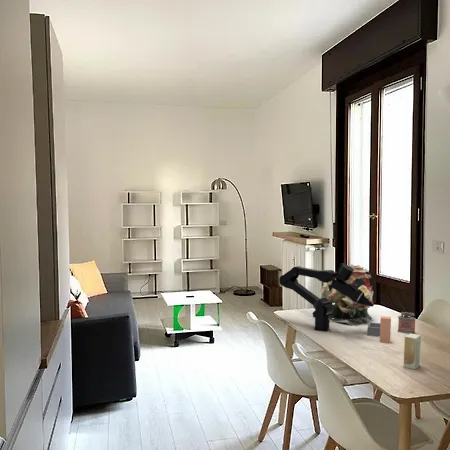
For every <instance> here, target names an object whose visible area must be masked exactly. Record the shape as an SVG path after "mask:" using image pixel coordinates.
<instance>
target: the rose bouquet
mask: <svg viewBox="0 0 450 450" xmlns="http://www.w3.org/2000/svg"><path fill="white" fill-rule="evenodd" d="M348 266H351V267H352V268H353V269H354V271H353V273H352V275H351V276H350V278H349V280H346V281H345V282H347V283H348V284H351V285H352V284H354V283H355V280H356V279H357V278H358V279H360V278H361V277H362V279H363V280H364V281H365V282H366V283H365V284H364V285H362V286H360V287H359V288H358V289H360V290H361V291H362V292H364V295H365V297H366V298H367V299H368V300H369V301H370V302H371V303H373V304H374V302H373V295H374V293H375V292H374V290H373V287H374V285H371V284H370V279H372V275H371V274H367V270H368V269H367V268H364V266H361V265H360V264H357V265H355V264H351V263H350V264H349V265H348ZM335 280H336V279H335ZM331 283H332V282H327V283H325V285H323V286H322V287H321V288H320V293H321V295H322V297H321V298H327V299H328V300H329V301H331V303H332V304H333V307H334V311H333V312H332V313H331V316H329V319H328V320H331V321H332V322H334V323H346V324H347V325H349V326H352V327H353V326H360V325H362V324H368V322H373V321H374V319H372V318H373V317H372V316H371V315H370V313H369V312H368V310H369V308H370V307H372V306H367V305H363V304H358V303H357V302H356V303H355V302H353V301H352V299H350V298H348V297H347V296H345V295H343V294H342V293H340V292H339V291H337V290H335V289H334V288H333V289H332V290H331V291H329V287H328V285H329V284H331ZM374 305H375V304H374ZM332 318H338V319H332ZM341 318H342V319H343V320H342V319H341Z"/></svg>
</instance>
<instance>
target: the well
mask: <svg viewBox="0 0 450 450" xmlns="http://www.w3.org/2000/svg"><path fill="white" fill-rule="evenodd" d="M367 322H368V323H367V329H366V330H367V334H366V336H370V337H379V338H380V322H372V321H367Z"/></svg>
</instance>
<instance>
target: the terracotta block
mask: <svg viewBox="0 0 450 450" xmlns="http://www.w3.org/2000/svg"><path fill="white" fill-rule="evenodd" d="M391 322H392V317H391V316H388V315H387V316H385V315H380V322H379V323H380V337H379V342H380V343H387V344H391V331H392V328H391V326H392V323H391Z"/></svg>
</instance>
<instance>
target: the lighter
mask: <svg viewBox="0 0 450 450" xmlns="http://www.w3.org/2000/svg"><path fill="white" fill-rule="evenodd" d="M397 318H398V324H397V325H398V326H397V327H398V328H397V332H398V333H403V334H407V335H408V334H410V333H411V334H416V320H417V319H416V317H415V313H414V312H408V311H405V312H402V311H401V312H400V315H399V316H398V317H397Z"/></svg>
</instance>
